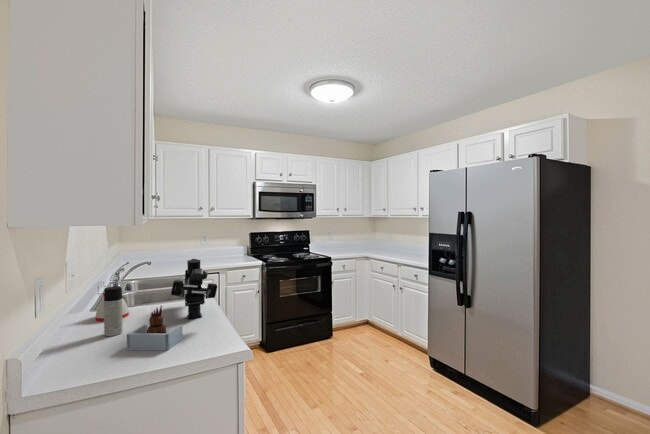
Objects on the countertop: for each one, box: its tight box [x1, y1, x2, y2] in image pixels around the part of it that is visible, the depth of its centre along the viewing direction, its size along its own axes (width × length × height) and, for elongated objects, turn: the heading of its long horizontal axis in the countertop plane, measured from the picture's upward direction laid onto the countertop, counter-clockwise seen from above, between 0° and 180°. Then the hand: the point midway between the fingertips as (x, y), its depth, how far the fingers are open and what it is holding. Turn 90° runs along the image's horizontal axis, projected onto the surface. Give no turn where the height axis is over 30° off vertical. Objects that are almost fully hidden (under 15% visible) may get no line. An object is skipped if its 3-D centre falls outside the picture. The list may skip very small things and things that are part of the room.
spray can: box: [103, 285, 124, 337], centre depth 138 cm, size 7×7×20 cm
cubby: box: [126, 323, 183, 351], centre depth 126 cm, size 11×16×6 cm
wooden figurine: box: [147, 305, 167, 334], centre depth 127 cm, size 7×6×15 cm
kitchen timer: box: [95, 292, 130, 323], centre depth 161 cm, size 14×14×15 cm
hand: (195, 296), depth 137 cm, fingers open, 9 cm apart
